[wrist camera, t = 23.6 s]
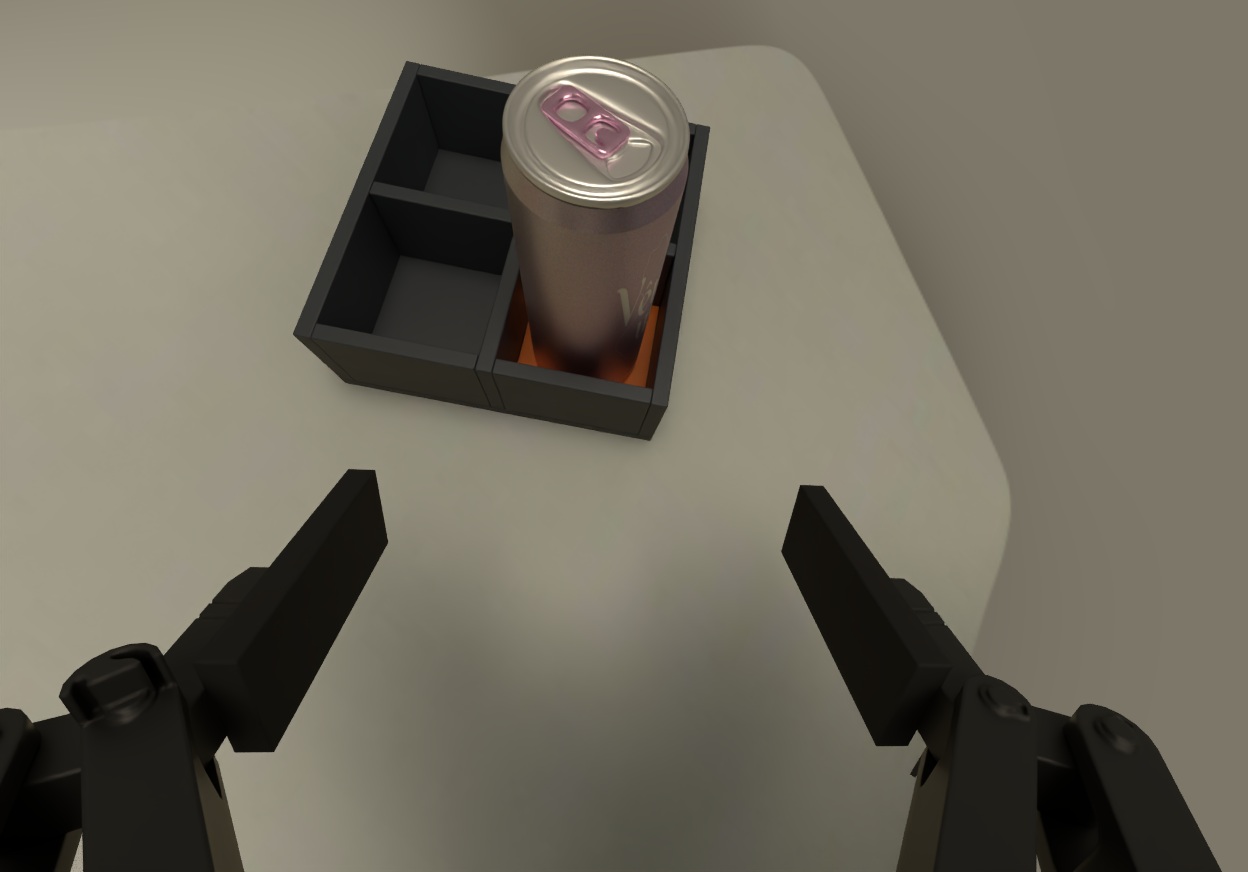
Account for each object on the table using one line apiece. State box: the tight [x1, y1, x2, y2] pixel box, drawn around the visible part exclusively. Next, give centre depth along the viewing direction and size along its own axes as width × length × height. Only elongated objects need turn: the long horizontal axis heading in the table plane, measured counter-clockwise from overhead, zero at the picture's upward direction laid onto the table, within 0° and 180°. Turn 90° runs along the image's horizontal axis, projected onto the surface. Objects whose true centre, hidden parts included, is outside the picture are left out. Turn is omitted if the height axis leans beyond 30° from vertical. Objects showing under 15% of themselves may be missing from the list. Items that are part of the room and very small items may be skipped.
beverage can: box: [501, 55, 690, 383], centre depth 22 cm, size 6×6×15 cm
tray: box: [293, 61, 710, 440], centre depth 28 cm, size 17×17×6 cm
